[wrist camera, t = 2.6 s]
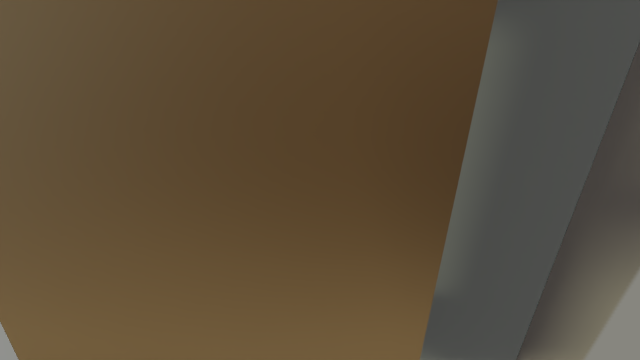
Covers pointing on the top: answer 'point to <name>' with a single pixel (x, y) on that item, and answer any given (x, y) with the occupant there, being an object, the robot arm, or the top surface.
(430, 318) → the pad
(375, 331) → the rail
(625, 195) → the top surface
